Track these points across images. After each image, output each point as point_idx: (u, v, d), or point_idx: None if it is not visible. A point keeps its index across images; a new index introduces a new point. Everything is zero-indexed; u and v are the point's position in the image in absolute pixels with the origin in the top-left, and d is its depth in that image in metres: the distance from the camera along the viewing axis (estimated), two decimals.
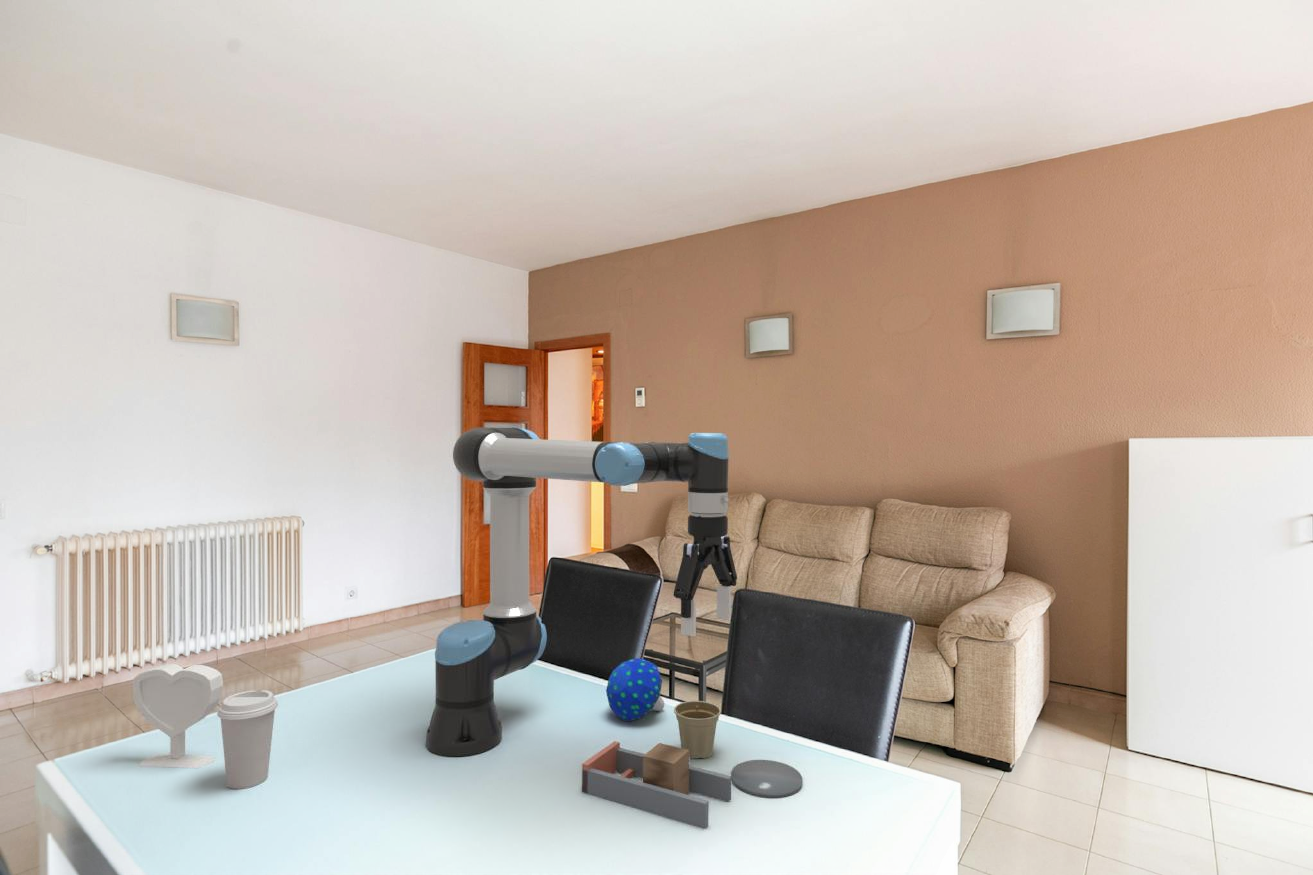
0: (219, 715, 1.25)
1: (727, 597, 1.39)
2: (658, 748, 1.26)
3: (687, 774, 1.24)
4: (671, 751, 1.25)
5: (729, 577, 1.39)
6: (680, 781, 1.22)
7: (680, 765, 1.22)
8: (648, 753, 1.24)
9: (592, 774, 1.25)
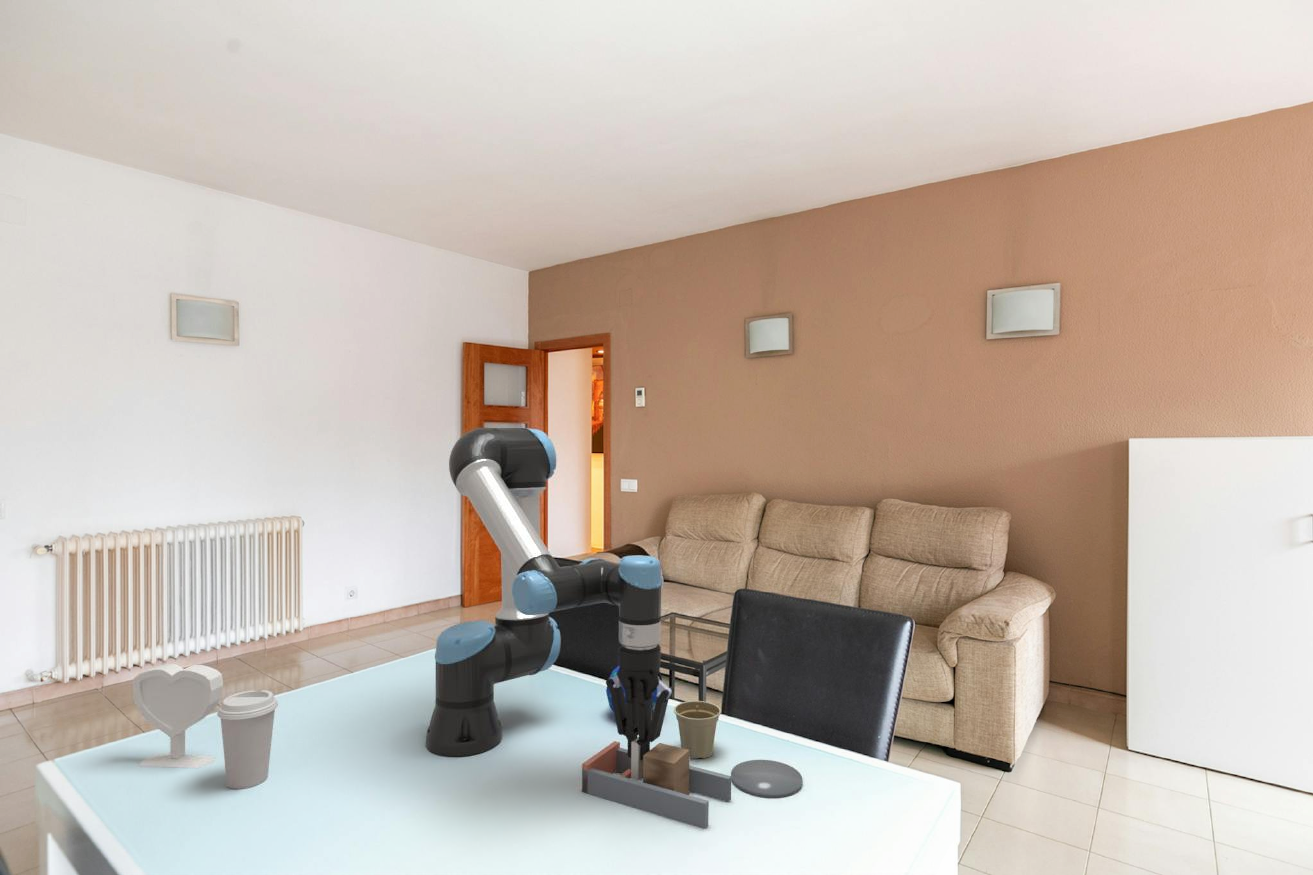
0: (219, 715, 1.25)
1: None
2: (658, 748, 1.26)
3: (687, 774, 1.24)
4: (671, 750, 1.25)
5: (642, 731, 1.25)
6: (680, 781, 1.22)
7: (680, 764, 1.22)
8: (648, 753, 1.24)
9: (592, 774, 1.25)
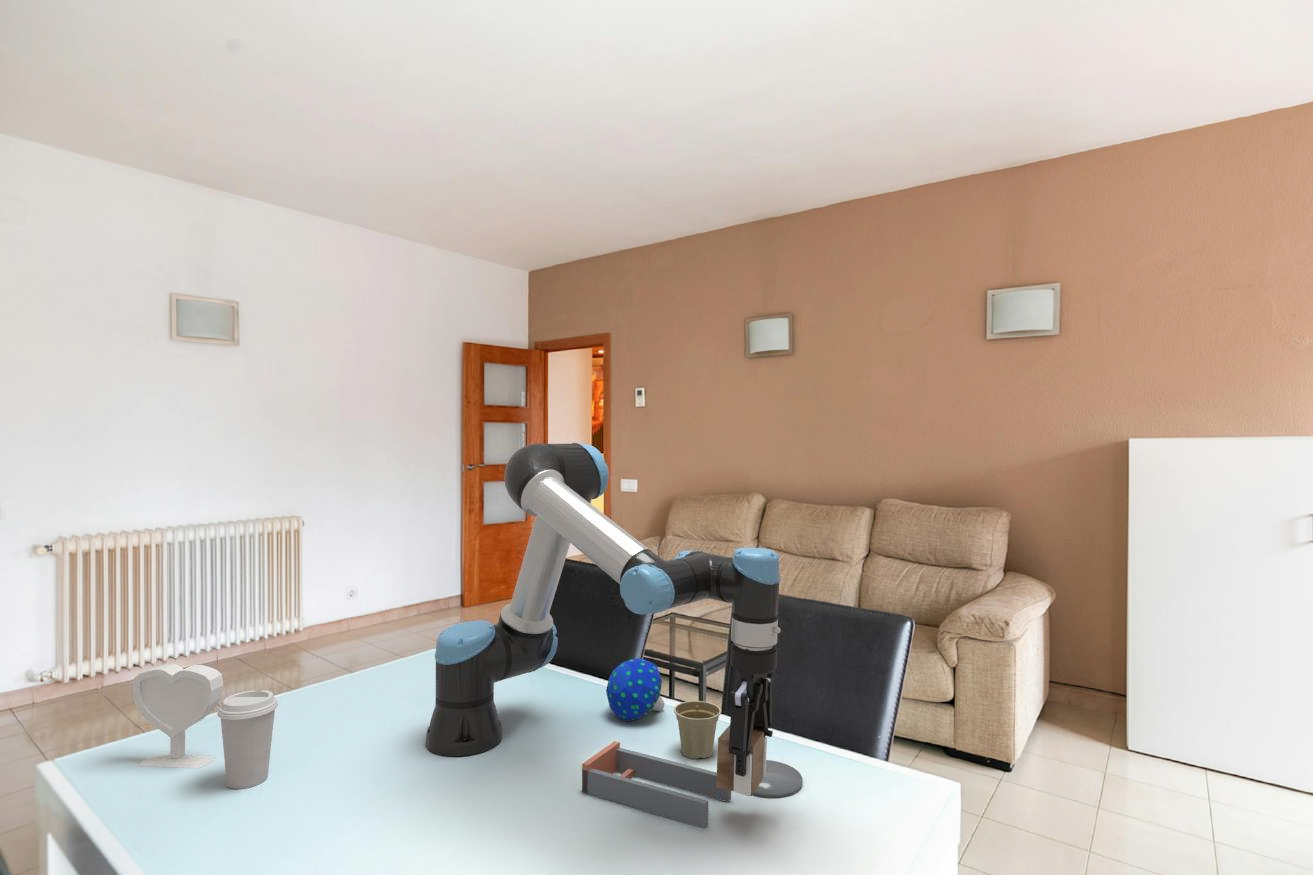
0: (219, 715, 1.25)
1: None
2: None
3: (762, 757, 1.18)
4: None
5: (766, 724, 1.19)
6: (757, 765, 1.16)
7: (757, 747, 1.16)
8: (722, 736, 1.17)
9: (592, 774, 1.25)
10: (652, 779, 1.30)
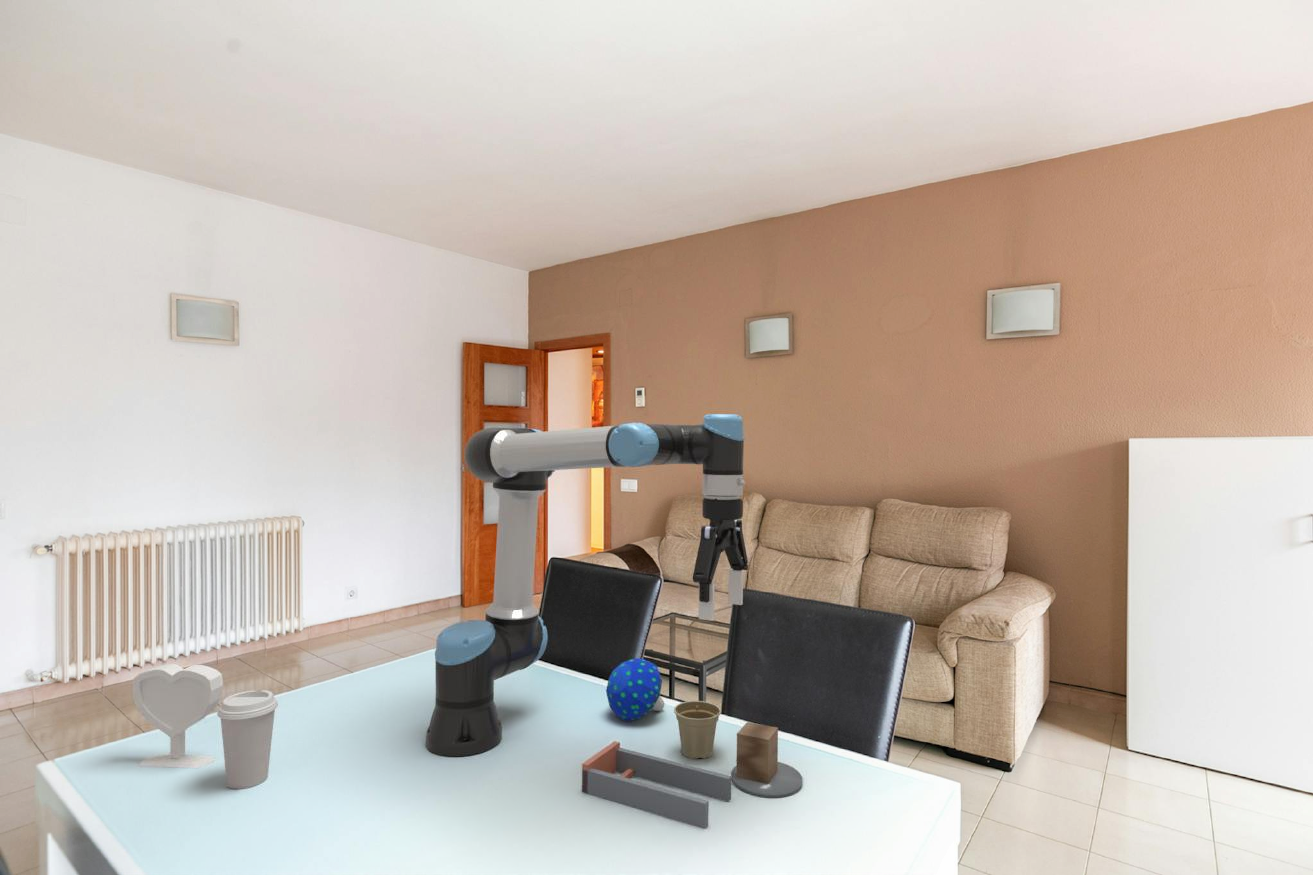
0: (219, 715, 1.25)
1: (739, 581, 1.37)
2: (748, 726, 1.33)
3: (776, 750, 1.32)
4: (761, 728, 1.32)
5: (741, 561, 1.37)
6: (772, 756, 1.30)
7: (772, 741, 1.30)
8: (741, 731, 1.31)
9: (592, 774, 1.25)
10: (652, 779, 1.30)
